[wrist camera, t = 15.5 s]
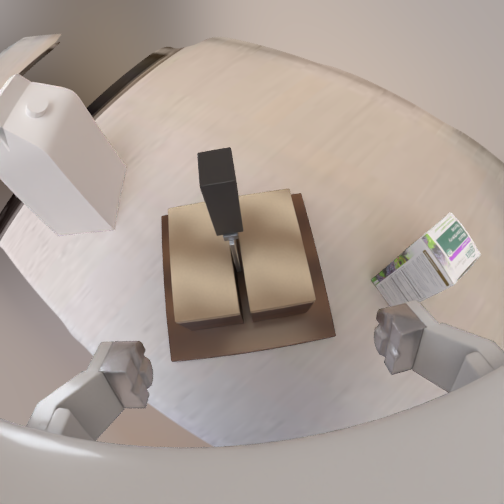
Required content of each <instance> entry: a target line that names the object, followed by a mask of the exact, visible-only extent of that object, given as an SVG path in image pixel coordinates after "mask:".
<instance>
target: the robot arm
mask: <svg viewBox="0 0 504 504" xmlns="http://www.w3.org/2000/svg"><path fill="white" fill-rule="evenodd" d="M376 320H377V321H378V322H379V324H378V326H377V327H376V328H375V332H374V342H375V346H376V349H377V351H378V353H379V354H380V355H382V356H384V357H385V360H384V363H385V365H386V366H387V368H388V370H389V372H390V373H391V375H393V374H397V373H400V372H404V371H407V370H411V369H412V370H413V371H415V372H416V373H418V374H419V375H421V376H423V377H424V378H426V379H427V380H429V381H431V382H432V383H434V384H435V385H437V386H439V387H440V388H442V389H444V390H445V391H447V392H448V393H447V394H445V395H443V396H440V397H438V398H435V399H433V400H431V401H428V402H426V403H423V404H420V405H418V406H415V407H412V408H410V409H407V410H404V411H401V412H398V413H395V414H392V415H389V416H386V417H383V418H380V419H377V420H373V421H370V422H366V423H363V424H359V425H355V426H352V427H348V428H344V429H340V430H335V431H331V432H327V433H322V434H317V435H312V436H307V437H301V438H295V439H289V440H283V441H276V442H268V443H260V444H250V445H239V446H225V447H203V448H202V447H201V448H172V447H148V446H133V445H123V444H114V443H105V442H98V441H96V440H97V438H98V437H99V436H100V435H101V434H102V433H103V432H104V431H105V430H106V429H107V428H108V427H109V426H110V424H111V423H112V422H113V421H114V420H115V419H116V418H117V417H118V416H119V414H121V412H122V411H123V410H124V408H146V406H147V402H148V398H149V392H148V390H147V389H148V388H149V387H150V386H151V385H152V381H153V369H152V365H151V362H150V360H149V359H148V358H147V357H145V356H144V353H145V348H144V346H143V344H142V342H140V341H115V342H102V343H100V345H99V347H98V348H97V350H96V352H95V354H94V356H93V358H92V360H91V362H90V364H89V366H88V368H87V370H86V371H82V372H81V373H79V374H78V375H77V376H75V377H74V378H72V379H71V380H69V381H68V382H67V383H65V384H64V385H62V386H61V387H60V388H58V389H57V390H55V391H54V392H53V393H51V394H50V395H48V396H47V397H46V398H44V399H43V400H41V401H40V402H39V403H38V404H37V406H36V408H35V410H34V412H33V413H32V415H31V417H30V420H29V421H28V424H27V426H23V425H20V424H16V423H13V422H10V421H7V420H4V419H1V418H0V504H504V351H503V350H502V349H501V348H500V347H499V346H498V345H497V344H496V343H495V342H494V341H492V340H489V339H486V338H483V337H481V336H478V335H475V334H472V333H469V332H467V331H464V330H461V329H458V328H456V327H453V326H450V325H447V324H445V323H440V324H439V323H438V322H437V321H436V320H435V319H434V317H433V316H432V315H431V314H430V313H429V312H428V311H427V310H426V309H425V308H424V307H423V306H422V305H421V304H420V303H419V301H417V300H413V301H409V302H405V303H403V304H399V305H395V306H391V307H386V308H382V309H379V310H378V312H377V317H376Z"/></svg>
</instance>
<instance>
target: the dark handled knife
mask: <svg viewBox="0 0 504 504" xmlns="http://www.w3.org/2000/svg"><path fill="white" fill-rule="evenodd" d="M197 155H198V170H199V183H200V189H201V192H202V195H203V198H204V201H205V204H206V207H207V209H208V212H209V215H210V218H211V221H212V224H213V227H214V230H215V233H216V235H217V236H220V235H223V239H224V241H229V243H230V248H231V251H232V255H233V259H234V262H235V266H236V269H237V272H239V271H241V268H240V262H239V255H238V248H237V242H236V239H238V232H243V231H244V230H243V223H242V216H241V210H240V203H239V196H238V189H237V182H236V176H235V170H234V164H233V158H232V151H231V148H230V147H229V148H223V149H217V150H212V151H206V152H200V153H198V154H197Z"/></svg>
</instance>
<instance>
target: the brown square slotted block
mask: <svg viewBox="0 0 504 504" xmlns="http://www.w3.org/2000/svg"><path fill="white" fill-rule="evenodd" d="M239 203H240V210H241V216H242V223H243V230H244V231H243V232H238V239H236V242H237V248H238V255H239V262H240V268H241V271H239V272H237V269H236V266H235V262H234V259H233V255H232V251H231V248H230V243H229V241H224V239H223V235H220V236H217V235H216V233H215V230H214V227H213V224H212V221H211V218H210V215H209V212H208V209H207V207H206V204H205V202H201V203H195V204H190V205H185V206H179V207H174V208H169V209H168V215H165V216H162V252H163V272H164V288H165V302H166V314H167V325H168V335H169V344H170V353H171V361H172V362H176V361H186V360H196V359H205V358H213V357H221V356H229V355H236V354H243V353H250V352H256V351H262V350H268V349H274V348H280V347H285V346H291V345H296V344H301V343H306V342H311V341H316V340H320V339H325V338H330V337H334V336H336V334H335V329H334V325H333V320H332V315H331V311H330V306H329V301H328V297H327V293H326V288H325V284H324V280H323V275H322V271H321V267H320V263H319V259H318V255H317V251H316V247H315V243H314V239H313V235H312V232H311V228H310V224H309V220H308V217H307V213H306V209H305V206H304V202H303V199H302V195H301V193H299V194H292V195H291V194H290V190H289V189H283V190H276V191H269V192H262V193H255V194H249V195H242V196H239Z"/></svg>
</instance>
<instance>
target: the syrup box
mask: <svg viewBox="0 0 504 504" xmlns="http://www.w3.org/2000/svg"><path fill="white" fill-rule="evenodd" d="M480 256H481V254H480V252H479V250H478V249H477V247H476V245H475V243H474V242H473V240H472V238H471V237H470V235H469V234H468V232H467V231H466V230H465V228H464V227H463V225H462V224H461V223H460V222H459V221H458V219H457V218H456V217H455V216H454V215H453V214H452V213H451V212H450V213H448V214H447V215H446V216H445V217H444V218H443V219H442V220H440V221H439V222H438V223H437V224H436V225H434V226H433V227H432V228H431V229H430V230H429V231H427V232H426V233H425V234H424V235H423V236H421V237H420V238H419V239H418V240H417V241H415V242H414V243H413V244H412V245H411V246H409V247H408V248H407V249H406V250H405V251H404V252H403V253H401V254H400V255H399V256H398V257H397V258H396V259H395V260H394V261H393V262H391V263H390V264H389V265H388V266H387V267H386V268H384V269H383V270H382V271H381V272H380V273H379V274H377V275H376V276H375V277H374V278H373V279H371V281H372V282H373V283H374V285H375V286H376V287H377V289H378V290H379V291H380V293H381V294H382V296H383V297H384V298H385V300H386V301H387V303H388V304H389V306H390V307H391V306H395V305H399V304H403V303H405V302H409V301H413V300H417V301H419V302H421V301H423V300H425V299H427V298H429V297H431V296H433V295H436V294H438V293H440V292H442V291H443V290H445V289H447V288H449V287H451V286H453V285H455V283H456V282H457V281H458V280H459V279H460V278H461V277H462V276H463V275H464V274H465V273H466V272H467V271H468V270H469V269H470V268H471V267H472V265H473V264H474V263H475V262H476V260H477V259H478V258H479V257H480Z"/></svg>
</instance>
